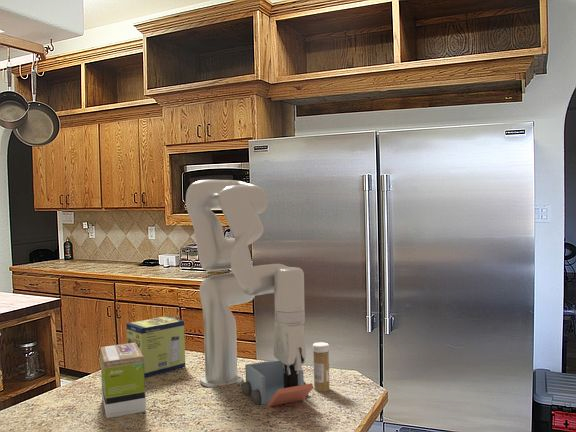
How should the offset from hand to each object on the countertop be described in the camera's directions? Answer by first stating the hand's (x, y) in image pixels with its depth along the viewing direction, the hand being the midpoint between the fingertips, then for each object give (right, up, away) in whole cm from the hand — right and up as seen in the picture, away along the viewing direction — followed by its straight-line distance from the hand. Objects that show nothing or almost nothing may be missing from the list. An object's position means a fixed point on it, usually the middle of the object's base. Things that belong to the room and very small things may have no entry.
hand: (290, 388), depth 134 cm
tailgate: (-2, -5, +4) cm, 6 cm away
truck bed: (-4, -6, +10) cm, 12 cm away
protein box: (-43, -6, +37) cm, 57 cm away
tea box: (-44, -7, +6) cm, 45 cm away
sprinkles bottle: (+9, -5, +13) cm, 16 cm away
